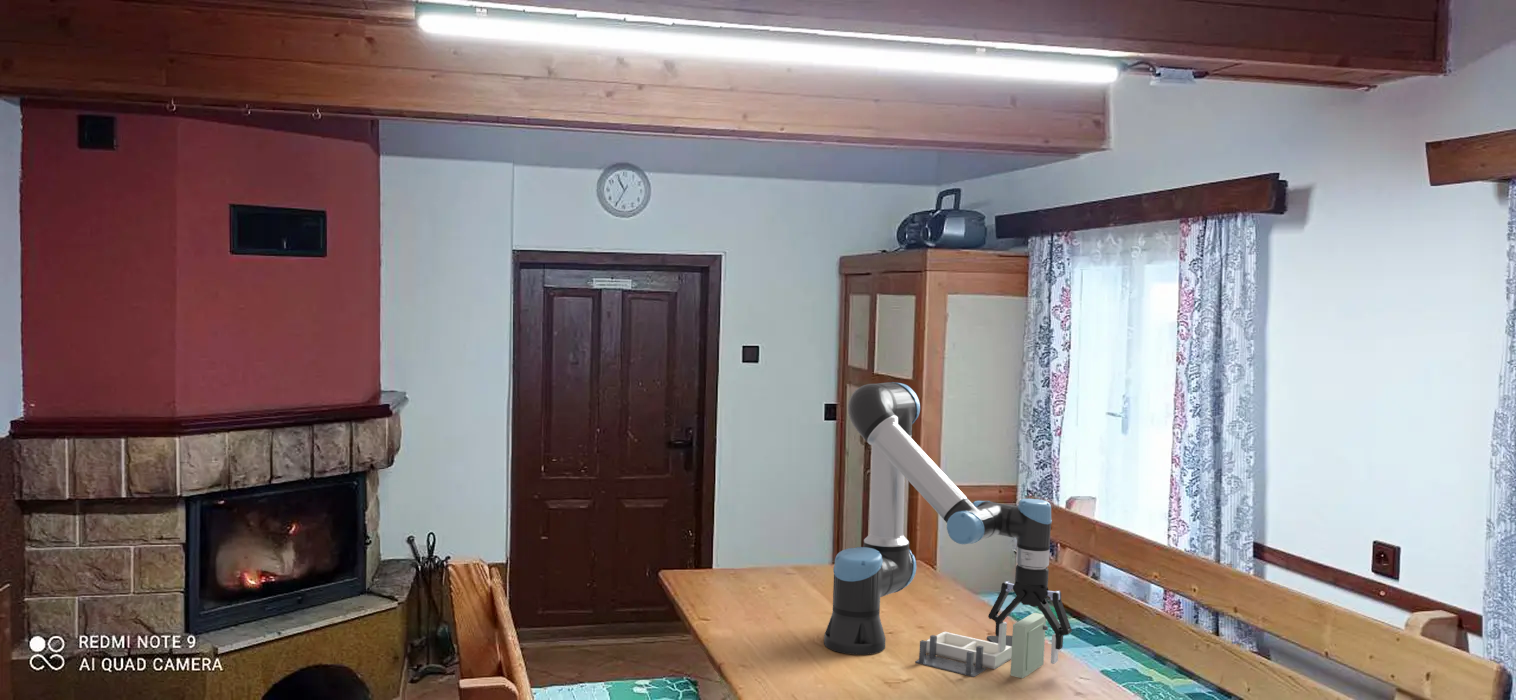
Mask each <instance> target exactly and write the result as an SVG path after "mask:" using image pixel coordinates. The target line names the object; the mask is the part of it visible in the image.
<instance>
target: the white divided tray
mask: <svg viewBox="0 0 1516 700" xmlns="http://www.w3.org/2000/svg"><path fill="white" fill-rule="evenodd" d="M935 636H937V646H936V656H938V657H942V658H946V659H950V660H954V661H958V662H963V663H966V658H967V652H968V651H972V652H974V658H973V665H975V666H976V647H977V646H983V665H982V667H984V668H986V669H988V668H989V669H991V670H996V669H998V668H999V667H1001V666H1003V665H1004V664H1005V663H1007V662H1009V661H1010V660H1011V655H1012V647H1011V646H1007V645H1006V648H1005V650H1003V651H1002V652H999V651H998V643H993V642H990V641H989V640H984V639H980V638H974V637H970V636H966V635H961V634H957V633H952V632H948V631H943V632H941V633H939V634H936V635H935ZM926 641H927V648H926V654H929V652H930V638H928V639H927V640H926Z"/></svg>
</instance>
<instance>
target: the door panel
mask: <svg viewBox="0 0 1516 700" xmlns="http://www.w3.org/2000/svg"><path fill="white" fill-rule="evenodd" d="M1046 621H1047V619H1046V618H1045V616H1044V615H1043V613H1037V612H1033V613H1031V614H1029V615H1027V616H1026V617H1023V618H1022V619H1020V620H1019V621H1017V622H1015V623H1012V635H1011V636H1012V655H1011V659H1010V660H1011V661H1010V676H1011V677H1016V678H1019V679H1025V678H1026V677H1027V676H1028V675H1030V674H1031V673H1033V672H1034V671H1036V670H1037V669H1039V668H1041V667H1042V666H1043V665H1044V662H1045V661H1044V659H1045V642H1046V639H1045V638H1046V631H1048V630H1049V626H1048V625H1046V623H1047V622H1046Z"/></svg>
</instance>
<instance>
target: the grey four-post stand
mask: <svg viewBox="0 0 1516 700" xmlns="http://www.w3.org/2000/svg"><path fill="white" fill-rule="evenodd" d="M929 639H930V652H929V653H926V648H927V640H923V639H921V640H920V641H919V656H918V659H917V660H915V661H914V662H915V664H918V665H919V664H920V665H924V666H927V667H931V668H936V669H940V670H943V671H948V672H952V673H956V674H960V675H964V676H967V677H971V678H974V677H976V676H978V675H979V674H981V673H983V672H984V671H986V670H987V667H983V666H982V665H983V646H977V647H976V665H975V664H973V658H974V652H972V651H968V652H967V658H966V662H962V661H958V660H954V659H950V658H946V657H941V656H937V655H936V646H937V636H936V635H935V634H932V635H930V636H929Z"/></svg>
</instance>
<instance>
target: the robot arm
mask: <svg viewBox="0 0 1516 700" xmlns="http://www.w3.org/2000/svg"><path fill="white" fill-rule="evenodd" d="M847 408H848V416H849V420H850V422H851V423H852V425H853V427H854V428H855V429H856V431H857V433H859V435H860V437H862V438H863V440H865V441H866V443H868V445H870V446H871V469H870V472H871V473H870V474H871V475H870V476H871V479H870V513H869V514H870V515H869V516H870V517H869V518H870V520H869V534H868V535H867V536H866V537H865V538H864V539H863V546H857V547H855V548H854V547H849V548H846V549H843V550H841V551H839V552H838V553H837V554H836V556H835V557H834V558H835V559H834V564H833V565H834V566H833V569H832V570H833V589H832V590H833V591H832V593H833V594H832V613H831V616H830V618H829V621H828V624H827V627H826V630H825V633H824V637H823V644H824V646H825V647H826V648H827V649H829V650H830V651H831V650H832V651H834V652H837V653H840V654H842V653H843V654H846V655H847V654H848V655H859V656H860V655H861V656H862V655H865V656H866V655H872V654H877V653H880V652H883V651H885V649H886V636H885V633H884V628H883V624H882V622H881V616H880V611H881V610H880V609H881V598H882V597H885V596H888V595H891V594H893V593H895V594H896V593H898V592H901V591H902V590H903V589H905V588H906V587H908V586H909V585H910V584H911V583H912V582H913V580H914V578H915V576H916V574H917V573H916V572H917V561H916V557H915V554H913V553H912V550H911V549H910V541H909V540H908V538H907V537H906V536H905V534H904V533H905V532H904V526H905V523H904V522H905V487H906V486H905V484H906V482H905V480H907V481H908V482H909V483H910V484H911V485H912V486H913V487H914V489H915V490H916V491H917V492H918V493H919V494H920V496H922V498H923V499H924V500H925V501H926V502H927V503H928V504H929V505H930V506H931V507H932V508H933V509H934V510H935V511H936V513H937V514H938V515H939V516H940V517H941V518H942V519H943V520H944V521H945V523H946V531H947V533H948V536H949V538H950V539H951V540H952V541H953V542H954V543H956V544H959V545H969V544H975V543H977V542H980V541H981V540H984V539H988V538H991V537H995V536H1001V537H1009V538H1013V539H1014V538H1016V555H1015V557H1016V559H1015V560H1016V561H1015V562H1016V564H1017V565H1016V566H1015V573H1014V577H1015V578H1014V581H1015V582H1014V583H1011V582H1010V580H1006V581H1004V582H1002V583H1001V587H1000V592H999V595H997V596H998V597H997V598H996V600H995V602H994V603H993V605H992V608H991V610H990V612H989V613H988V615H987V616H988V617H987V618H988V619H989V620H992V621H994V622H995V636H999V642H998V651H999V652H1002V651H1003V650H1005V648H1006V635H1007V628H1008V627H1007V626H1008V623H1007V622H1006V621H1005V619H1006V618H1007V617H1008V616H1009V615H1010V614H1011V613H1012V612H1013V611H1014V610H1015V609H1016V608H1017V607H1018V605H1020V604H1022V605H1024V606H1030V607H1033V608H1036V607H1037V608H1038V610H1039V611H1041V614H1043V615H1044V616H1045V618H1046V621H1047V623H1048V624H1049V626H1050V627H1051V629H1052V631H1053V632H1054V634H1052V635H1051V649H1050V651H1051V653H1050V664H1052V665H1055V664H1056V663H1058V661H1059V650H1062V648H1063V647H1064V644H1063V643H1064V636H1068V635H1069V634H1071V633H1072V631H1073V629H1072V626H1071V623H1070V621H1069V618H1068V615H1067V612H1066V610H1065V607H1064V604H1063V601H1062V592H1061V590H1055V591H1054V590H1049V586H1048V585H1049V572H1050V571H1049V568H1048V567H1049V566H1050V551H1051V550H1050V548H1051V547H1050V544H1051V532H1052V531H1051V530H1052V522H1053V519H1052V505H1051V503H1050V502H1049V501H1047V500H1044V499H1038V498H1022V499H1020V500H1019V502H1018V505H1011V504H1005V503H1000V502H999V503H998V502H994V501H990V500H975V501H974V502H971V501H970V499H969V498H968V497H967V496H966V495H965V494H964V493H963V492H962V491H961V490H960V489H959V487H958V486H957V485H956V484H955V483H954V482H953V481H952V480H951V479H950V478H949V477H948V476H947V474H945V473H944V471H942V469H941V468H940V467H939V466H938V465H937V464H936V463H935V462H934V461H933V460H932V458H930V456H929V455H928V454H927V453H926V452H925V450H923V449H922V448H921V446H920V445H919V444H917V442H916V441H915V440H914V438H912V436H913V424H914V423H915V422H916V420H917V419H918V418H919V416H920V412H921V403H920V400H919V397H918V395H917V393H916V392H915V391H914V390H913V389H912V388H911V386H909V385H907V384H905V383H903V382H902V383H901V382H894V381H892V382H891V381H890V382H881V383H867V384H864V385H861V386H859V387H858V388H857V389H856V390H855V391H854V392H853V393H852V395H850V398H849V401H848V406H847ZM1012 590H1013V591H1014V593H1015V597H1014V598H1013V599H1012V600H1011V602H1010V603H1009V604H1008V605H1007V606H1006V607H1005V608H1004V609H1003V611H1002V612H1000V610H1001V609H1002V606H1003V605H1004V603H1005V601H1006V599H1007V597H1008V596H1009V593H1010V592H1012ZM1048 597H1049V598H1050V601H1052V605H1053V607H1054V611H1055V613H1056V615H1055V613H1054V612H1053V611H1052V608H1051V607H1050V604H1049V602H1048V600H1047V598H1048ZM1056 616H1057V617H1056Z"/></svg>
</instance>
